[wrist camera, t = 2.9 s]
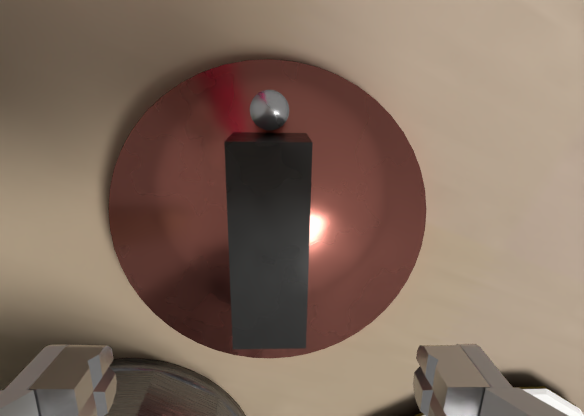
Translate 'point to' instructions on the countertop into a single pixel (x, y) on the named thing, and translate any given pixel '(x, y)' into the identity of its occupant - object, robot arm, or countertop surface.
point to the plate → (549, 400)
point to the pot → (166, 391)
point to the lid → (267, 208)
